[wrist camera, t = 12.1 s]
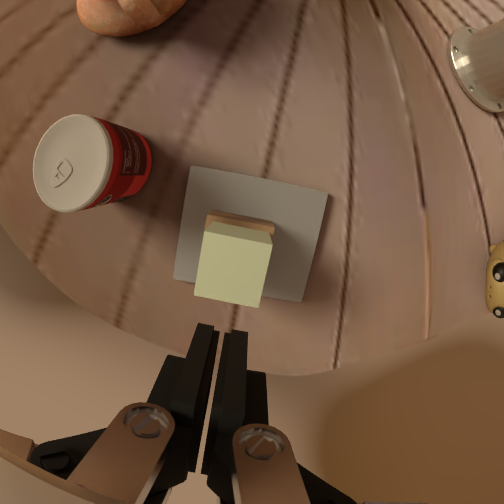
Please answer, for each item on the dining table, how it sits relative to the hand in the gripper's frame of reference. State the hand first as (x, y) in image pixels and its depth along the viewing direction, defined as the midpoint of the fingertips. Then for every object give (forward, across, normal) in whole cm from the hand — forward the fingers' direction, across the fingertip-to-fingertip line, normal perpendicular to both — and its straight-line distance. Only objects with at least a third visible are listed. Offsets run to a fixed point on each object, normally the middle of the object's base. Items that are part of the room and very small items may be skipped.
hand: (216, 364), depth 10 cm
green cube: (+18, 0, +1) cm, 18 cm away
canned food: (+23, +14, -5) cm, 28 cm away
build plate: (+23, -1, 0) cm, 23 cm away
